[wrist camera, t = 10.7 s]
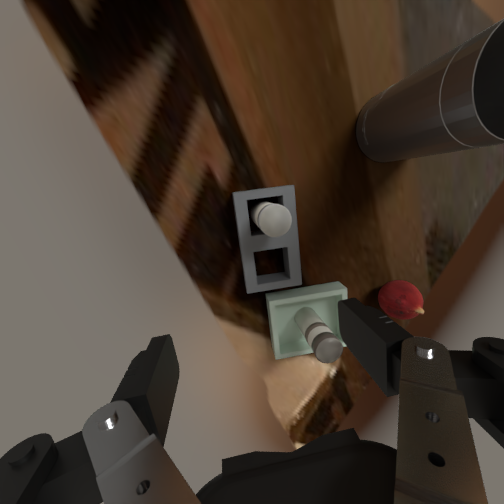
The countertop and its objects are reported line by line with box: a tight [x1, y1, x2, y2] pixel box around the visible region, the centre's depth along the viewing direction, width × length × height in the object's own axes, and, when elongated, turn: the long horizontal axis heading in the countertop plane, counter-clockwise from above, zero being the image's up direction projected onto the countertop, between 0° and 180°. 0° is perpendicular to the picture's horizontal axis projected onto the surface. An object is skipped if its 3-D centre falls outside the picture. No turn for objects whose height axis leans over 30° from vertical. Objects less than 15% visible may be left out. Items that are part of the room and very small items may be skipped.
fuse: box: [250, 201, 292, 237], centre depth 33 cm, size 4×4×9 cm
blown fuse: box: [295, 307, 343, 363], centre depth 37 cm, size 4×4×9 cm
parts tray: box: [265, 281, 347, 360], centre depth 40 cm, size 12×10×3 cm
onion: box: [378, 280, 424, 319], centre depth 39 cm, size 6×6×8 cm
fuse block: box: [232, 185, 302, 294], centre depth 36 cm, size 8×14×4 cm, turn 7°
